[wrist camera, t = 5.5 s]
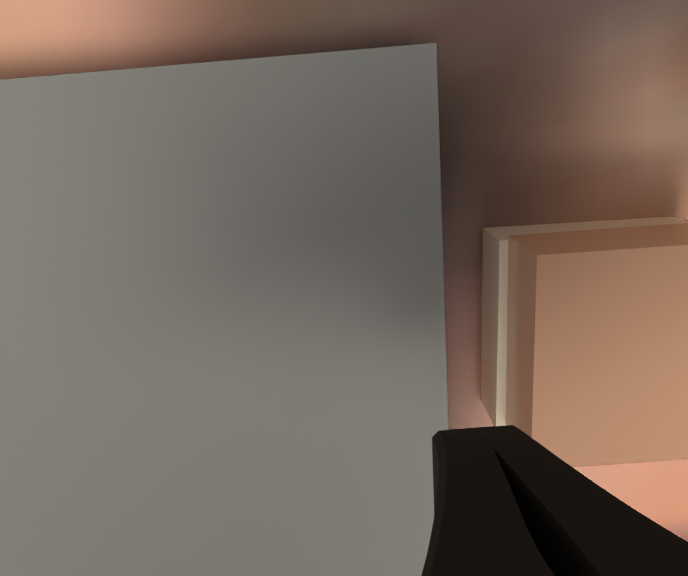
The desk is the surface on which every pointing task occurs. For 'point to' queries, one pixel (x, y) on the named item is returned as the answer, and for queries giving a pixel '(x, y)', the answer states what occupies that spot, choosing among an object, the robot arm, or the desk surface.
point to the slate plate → (222, 317)
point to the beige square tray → (498, 295)
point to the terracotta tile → (600, 343)
